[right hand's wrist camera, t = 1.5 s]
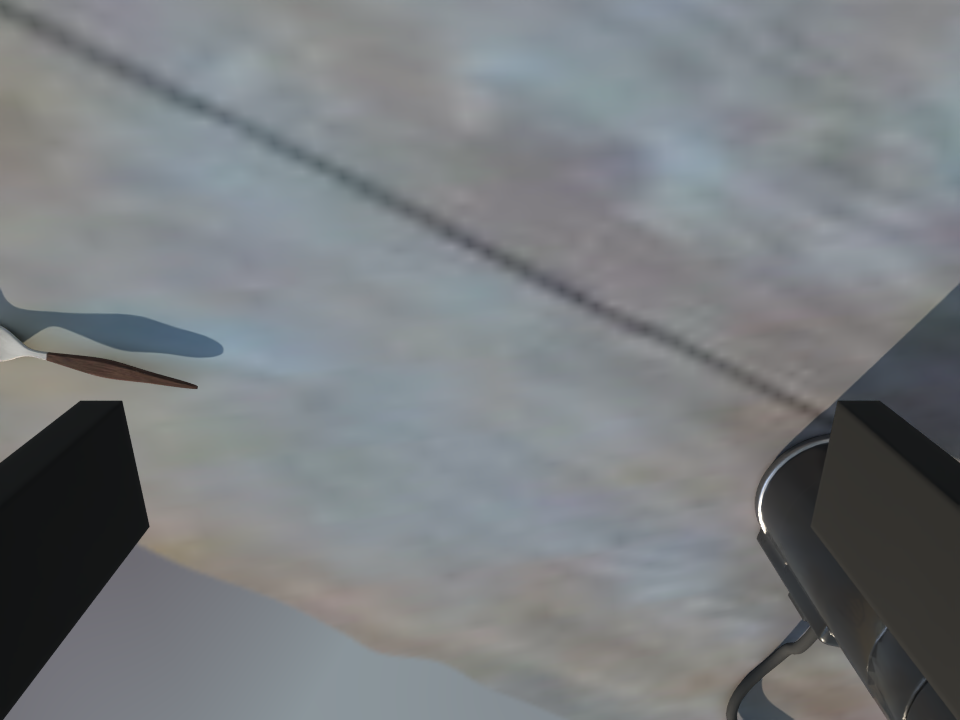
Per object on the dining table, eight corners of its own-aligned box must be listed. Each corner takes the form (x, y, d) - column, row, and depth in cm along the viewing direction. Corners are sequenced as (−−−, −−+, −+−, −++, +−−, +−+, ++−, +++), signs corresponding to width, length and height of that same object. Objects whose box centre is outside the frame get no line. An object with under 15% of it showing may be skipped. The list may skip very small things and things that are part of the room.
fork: (199, 402, 43) (186, 416, 41) (-62, 348, 42) (-88, 361, 40) (202, 365, 42) (189, 378, 40) (-65, 309, 41) (-91, 319, 39)
